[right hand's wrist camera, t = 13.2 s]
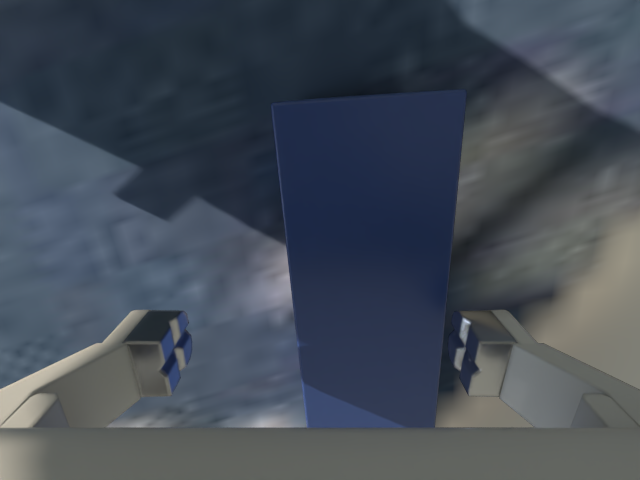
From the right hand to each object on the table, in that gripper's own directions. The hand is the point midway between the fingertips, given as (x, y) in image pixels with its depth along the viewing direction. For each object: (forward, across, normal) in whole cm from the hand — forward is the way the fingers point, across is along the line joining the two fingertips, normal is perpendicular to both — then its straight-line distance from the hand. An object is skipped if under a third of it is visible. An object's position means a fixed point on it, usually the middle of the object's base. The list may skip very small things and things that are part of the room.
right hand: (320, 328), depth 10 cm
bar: (+9, -2, +4) cm, 10 cm away
